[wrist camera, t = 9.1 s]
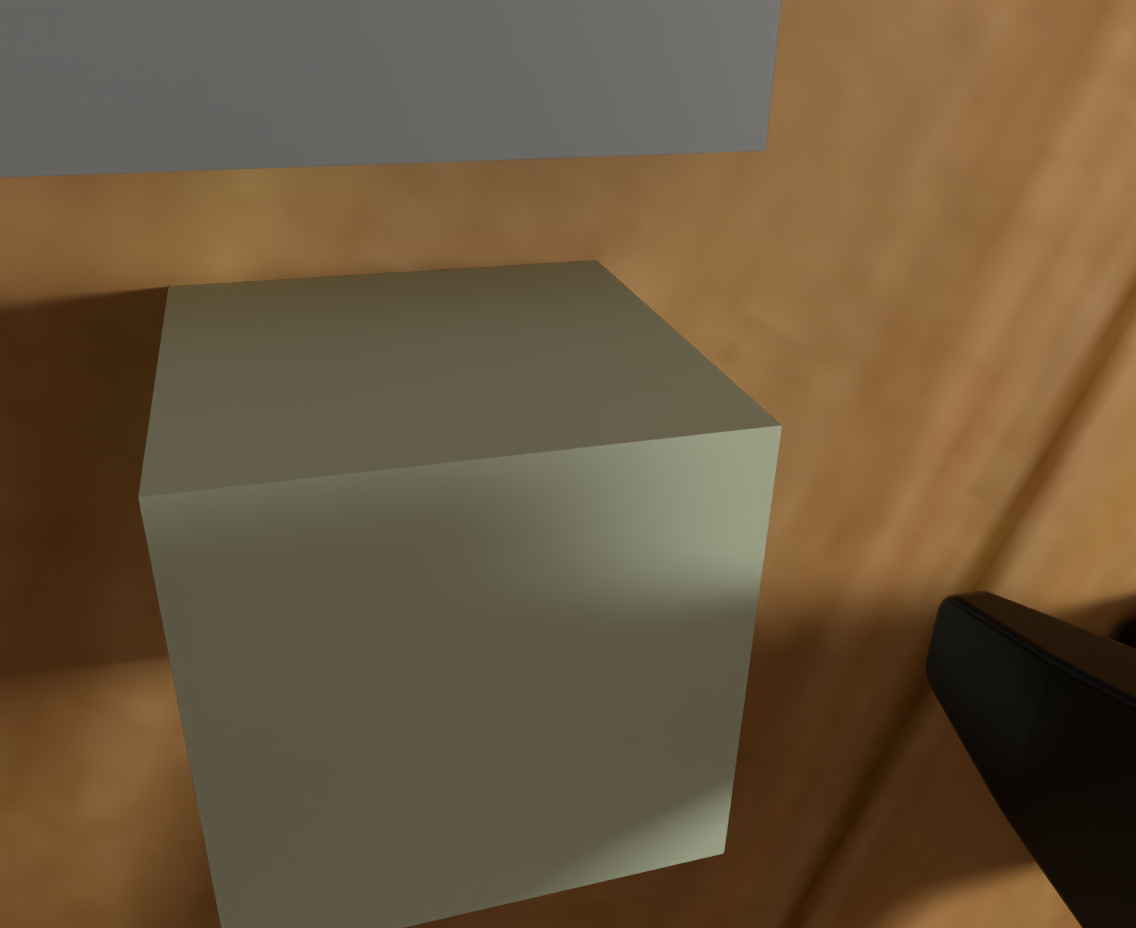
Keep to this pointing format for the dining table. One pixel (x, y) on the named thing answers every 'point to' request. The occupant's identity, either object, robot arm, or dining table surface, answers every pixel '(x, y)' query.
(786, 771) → the dining table surface
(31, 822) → the dining table surface
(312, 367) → the sage block
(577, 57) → the slate board
